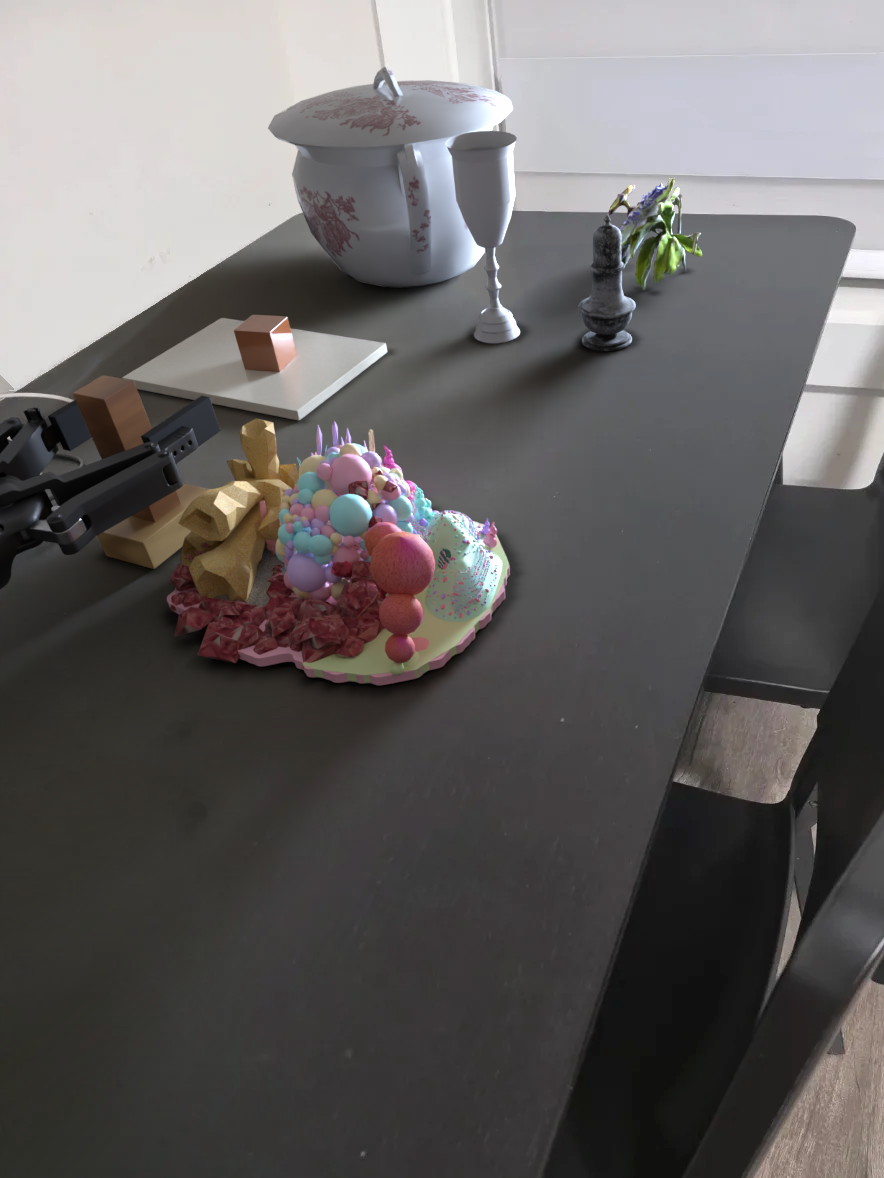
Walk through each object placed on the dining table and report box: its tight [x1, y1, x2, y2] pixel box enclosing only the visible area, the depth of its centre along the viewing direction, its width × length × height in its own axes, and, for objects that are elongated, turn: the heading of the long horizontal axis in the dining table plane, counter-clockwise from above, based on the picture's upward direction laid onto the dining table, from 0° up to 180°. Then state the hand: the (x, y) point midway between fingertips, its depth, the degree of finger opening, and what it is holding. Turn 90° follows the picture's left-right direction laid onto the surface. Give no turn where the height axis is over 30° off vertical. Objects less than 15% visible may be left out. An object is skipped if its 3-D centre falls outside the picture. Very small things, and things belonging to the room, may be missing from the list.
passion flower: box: [607, 177, 703, 291], centre depth 105 cm, size 11×11×12 cm
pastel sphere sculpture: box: [166, 418, 511, 686], centre depth 64 cm, size 25×24×9 cm
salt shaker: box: [577, 214, 637, 352], centre depth 90 cm, size 6×6×12 cm
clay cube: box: [234, 314, 297, 372], centre depth 91 cm, size 4×4×4 cm
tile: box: [121, 317, 388, 421], centre depth 93 cm, size 22×16×1 cm
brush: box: [72, 374, 210, 570], centre depth 68 cm, size 5×8×12 cm, turn 155°
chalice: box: [445, 130, 521, 344], centre depth 91 cm, size 7×7×18 cm
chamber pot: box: [267, 66, 514, 289], centre depth 105 cm, size 28×28×21 cm
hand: (165, 404), depth 69 cm, fingers open, 8 cm apart
